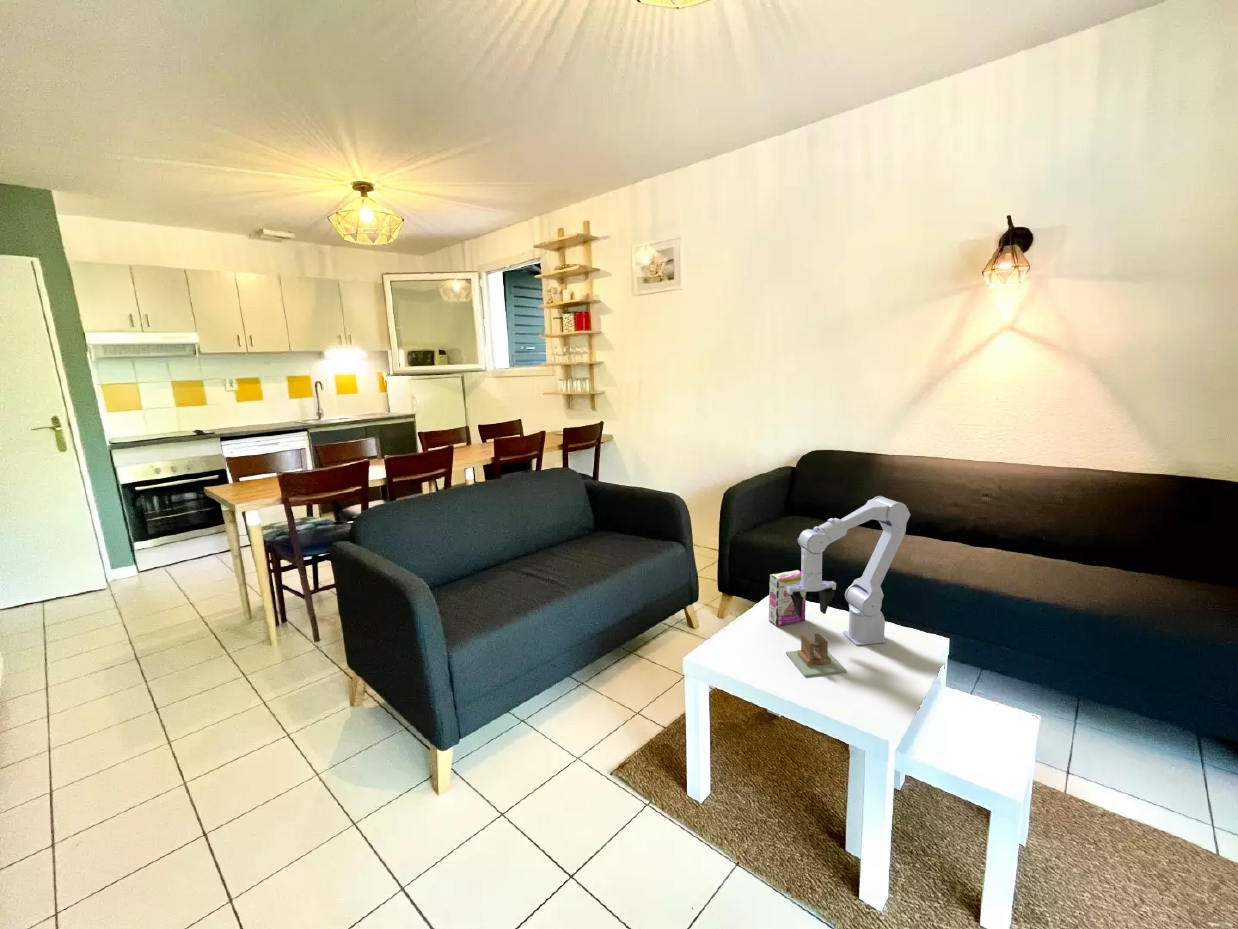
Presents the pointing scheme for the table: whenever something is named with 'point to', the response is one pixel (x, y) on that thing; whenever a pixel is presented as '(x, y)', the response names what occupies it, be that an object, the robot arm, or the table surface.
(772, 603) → the candy bar box
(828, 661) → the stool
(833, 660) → the mat
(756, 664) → the table surface
